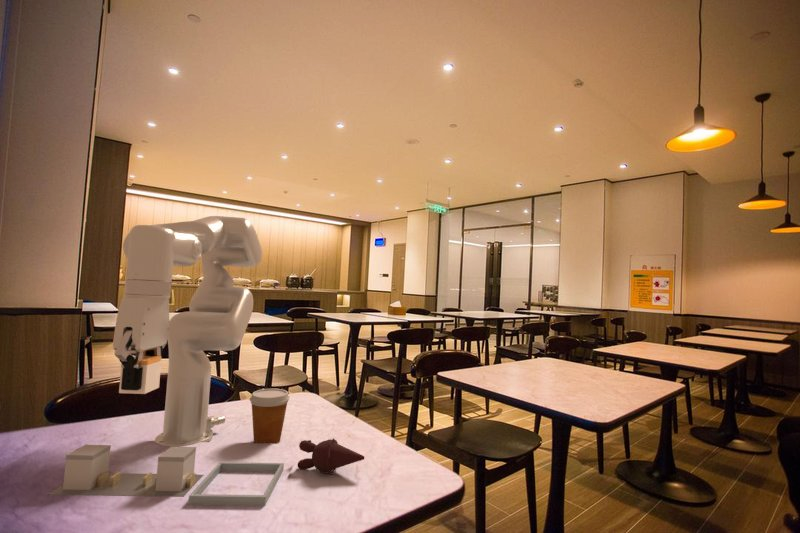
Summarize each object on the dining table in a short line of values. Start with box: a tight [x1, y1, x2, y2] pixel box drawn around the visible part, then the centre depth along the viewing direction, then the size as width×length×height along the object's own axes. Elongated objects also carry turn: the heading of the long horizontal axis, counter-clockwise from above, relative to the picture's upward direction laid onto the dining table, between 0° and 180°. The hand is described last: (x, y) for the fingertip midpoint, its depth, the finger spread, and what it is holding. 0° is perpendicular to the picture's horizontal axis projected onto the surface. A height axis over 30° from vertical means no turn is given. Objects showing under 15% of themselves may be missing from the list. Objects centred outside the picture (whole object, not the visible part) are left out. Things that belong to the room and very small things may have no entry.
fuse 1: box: [62, 444, 112, 490], centre depth 71 cm, size 5×5×6 cm
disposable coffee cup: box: [249, 388, 291, 445], centre depth 96 cm, size 10×10×12 cm
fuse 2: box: [155, 446, 197, 491], centre depth 72 cm, size 5×5×6 cm
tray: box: [187, 461, 285, 507], centre depth 72 cm, size 13×13×2 cm
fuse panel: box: [47, 471, 204, 498], centre depth 71 cm, size 8×23×3 cm, turn 94°
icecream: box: [297, 438, 365, 475], centre depth 82 cm, size 7×7×15 cm
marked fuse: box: [118, 355, 162, 395], centre depth 72 cm, size 5×5×6 cm
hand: (140, 384), depth 72 cm, fingers closed on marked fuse, 4 cm apart
